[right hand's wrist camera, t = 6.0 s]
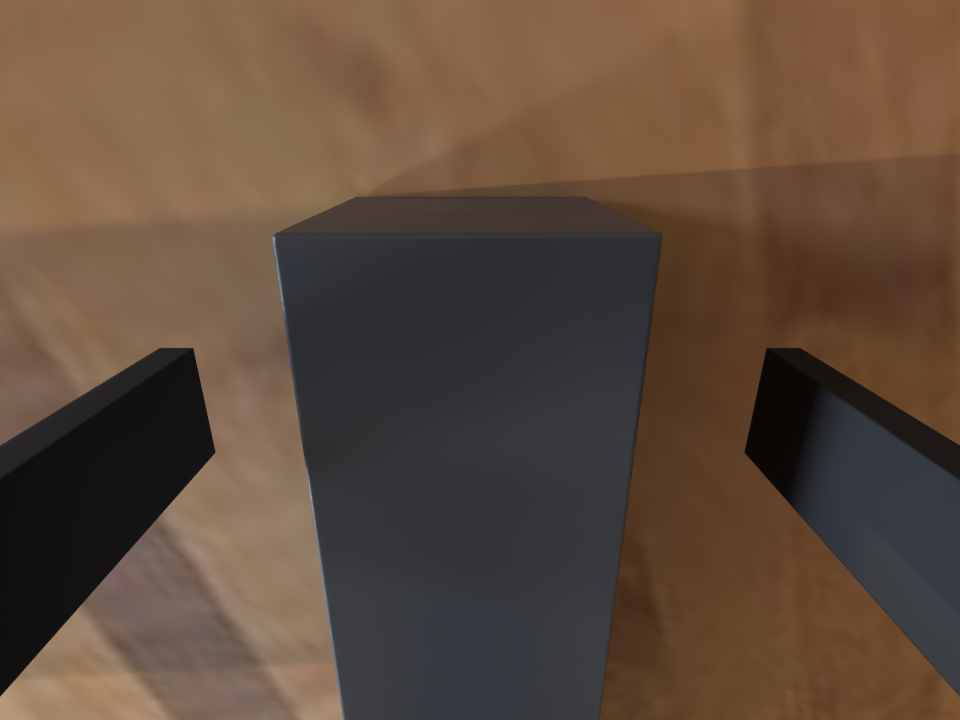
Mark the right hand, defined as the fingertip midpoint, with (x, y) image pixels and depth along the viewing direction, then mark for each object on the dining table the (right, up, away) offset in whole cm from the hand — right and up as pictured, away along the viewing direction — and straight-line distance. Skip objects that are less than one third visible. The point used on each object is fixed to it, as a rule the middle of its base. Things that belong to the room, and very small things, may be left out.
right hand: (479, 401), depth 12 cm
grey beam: (0, -8, +7) cm, 10 cm away
